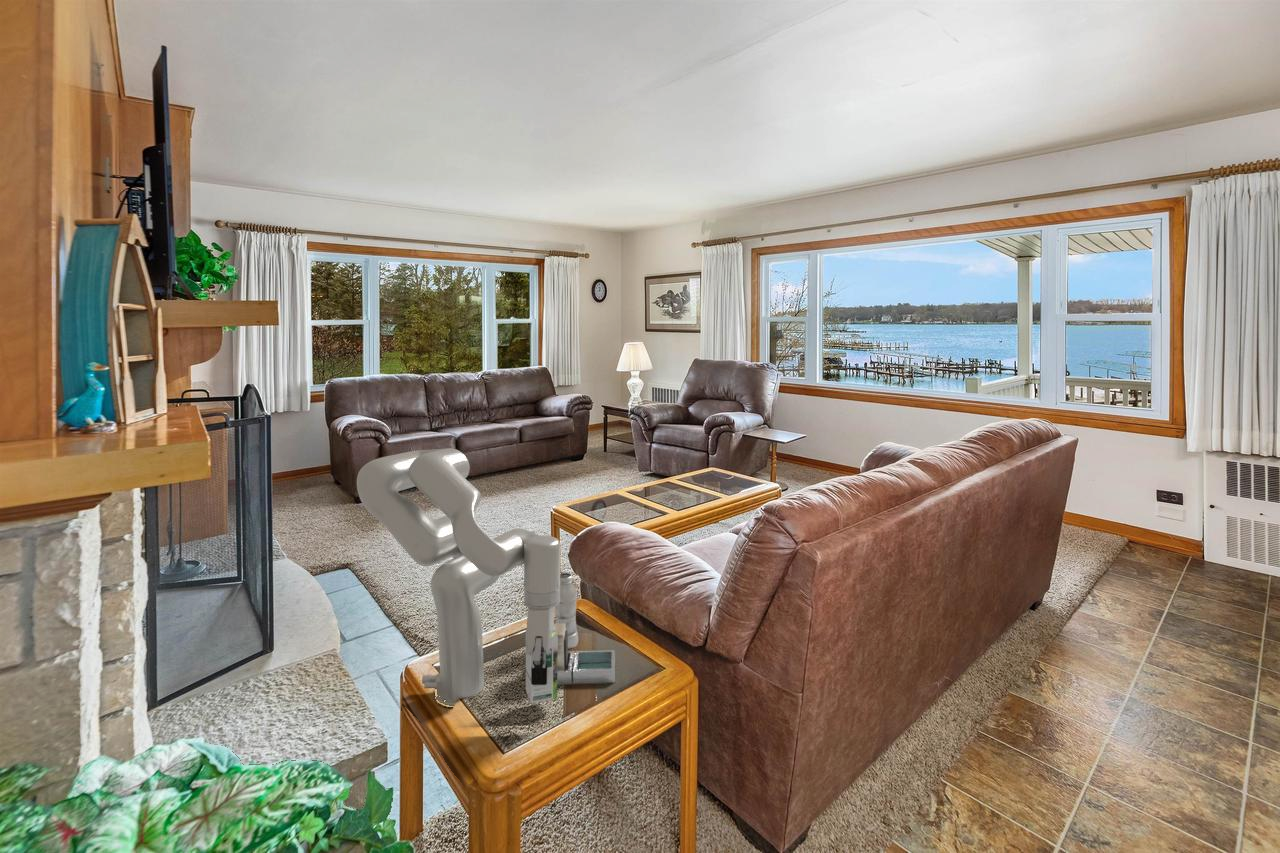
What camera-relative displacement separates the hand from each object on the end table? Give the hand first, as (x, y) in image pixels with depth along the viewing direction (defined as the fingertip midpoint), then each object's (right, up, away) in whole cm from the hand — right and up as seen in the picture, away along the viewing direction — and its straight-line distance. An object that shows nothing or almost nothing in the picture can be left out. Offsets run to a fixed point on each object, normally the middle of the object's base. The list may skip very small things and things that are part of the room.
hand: (541, 673), depth 131 cm
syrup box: (0, -5, +1) cm, 5 cm away
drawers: (+5, -7, +15) cm, 17 cm away
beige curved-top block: (0, -6, +14) cm, 16 cm away
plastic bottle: (+2, -6, +30) cm, 30 cm away
